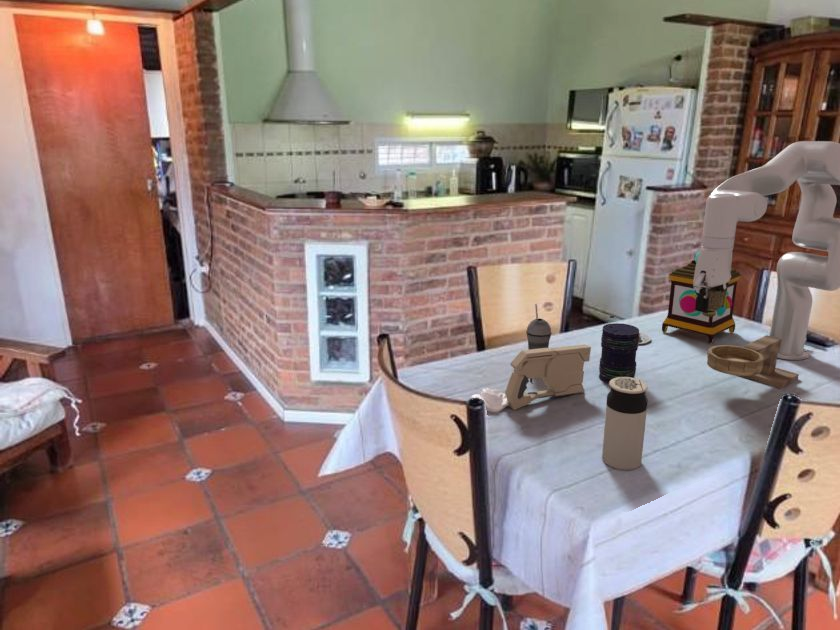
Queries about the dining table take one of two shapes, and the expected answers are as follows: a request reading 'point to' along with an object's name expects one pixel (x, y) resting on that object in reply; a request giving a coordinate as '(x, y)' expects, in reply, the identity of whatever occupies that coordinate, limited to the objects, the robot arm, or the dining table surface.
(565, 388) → the gun
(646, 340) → the beige low round piece
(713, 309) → the cup
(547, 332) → the beverage cup
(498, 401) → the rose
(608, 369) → the storage jar
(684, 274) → the decorative lantern
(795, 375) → the rail cup bracket
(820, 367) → the dining table surface
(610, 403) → the travel mug
